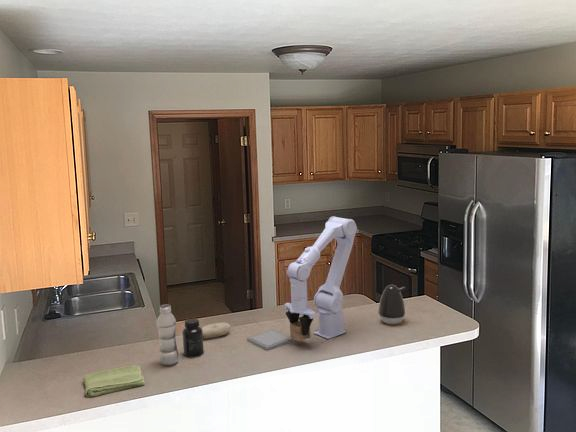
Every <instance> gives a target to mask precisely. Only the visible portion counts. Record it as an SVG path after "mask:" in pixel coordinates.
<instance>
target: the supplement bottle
mask: <svg viewBox="0 0 576 432" xmlns="http://www.w3.org/2000/svg"><path fill="white" fill-rule="evenodd" d="M182 344H183V345H182V346H183V347H182V348H183V355H184V356H185V357H187V358H197V357H200V356H202V355H203V354H204V351H205V350H204V338H203V332H202V327H201V326H200V320H199V319H198V318H189V319H186V320H184V328H183V330H182Z"/></svg>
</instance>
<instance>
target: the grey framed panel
mask: <svg viewBox="0 0 576 432" xmlns="http://www.w3.org/2000/svg"><path fill="white" fill-rule="evenodd" d="M246 341H247V342H249V343H251V344H253V345H255V346H256V347H259V348H261V349H263V350H265V351H271V350H273V349H276V348H278V347H281V346H284V345H286V344H289V343H292V342H294V339H293V338H291V336H288V335H286V334H284V333H281V332H279V331H277V330H274V329H270V330H267V331H264V332H261V333H258V334H255V335H253V336H250V337H247V338H246Z"/></svg>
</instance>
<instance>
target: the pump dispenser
mask: <svg viewBox="0 0 576 432" xmlns="http://www.w3.org/2000/svg"><path fill="white" fill-rule="evenodd" d="M404 290H406V286H401V287H398V286H397V285H395V284H389V285H387V286H385V288H384V290H383V292H382V294H381V296H380V300H379V306H378V315H379V318H380V319H381V321H382V322H383V323H385V324H387V325H398V324H400V323H401V322H402V321H403V320H404V317H405V315H406V307H405V306H406V305H405V301H404V298H403V295H402V293H401V292H402V291H404Z"/></svg>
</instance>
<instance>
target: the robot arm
mask: <svg viewBox="0 0 576 432" xmlns="http://www.w3.org/2000/svg"><path fill="white" fill-rule="evenodd" d="M357 230H358V226H357V224H356V222H355V220H354V219H352V218H343V217H338V216H334V215H333V216H330V217H329V219H328V220H327V221H326V222H325V225H324V229H323V231H322V232H321V234H320V235H319V237H318V238H317V239H316V240H315V242H314V244H313V245H312V246H307V247H306V248H304V251H303V252H302V253H301V255H300V256H299V257H298V258H296V260H295V261H294V262H291V263H290V264H289V265H288V267H287V270H286V275H287V277H288V278H289V283H290V299H291V300H290V301H291V302H286V303H284V310H288V311H286V312H285V315H286V317H287V319H288V321H289V325H290V324H292V323H294V322H297V321H300V322H301V326H302V334H303V335H304V336H305V335H308V333H309V329H310V330H311V325H312V323H313V321H314V319H315V318H316V317H317V316H316V312H315V311H314V310H312V309H311V308H309V306H308V282H307V281H308V280H307V279H309V277H310V275H311V271H312V268H313V267H314V266H315V264H316V263H317V262H318V261H319V259H320V258H321V252H322V251H323V250H324V249H325V248H326V247H327V245H329V244H330V242H331V241H332V240H333V239H334V240H336V243H337V246H336V248H335V252H334V255H333V258H332V262H331V265H330V267H329V272H328V275H327V277H326V281H325V283H324V284H322V285H320V286H319V287H318V290H317V292H316V293H315V294H314V296H313V305H314V306H315V307H316V310H317V311H318V330H316V331H314V332H313V334H315V335H317V336H319V337H322V338H324V339H327V340H329V339H332V338H335V337H338V336H340V335H342V334H346V332H347V331H346V330H345V314H344V312H343V310H342V307H343V298H344V293H343V292H342V290H341V289H340V287H341V283H342V282H343V281H342V280H343V278H344V276H345V275H344V274H345V270H346V267H347V265H348V261H349V258H350V255H351V253H352V249H353V245H354V240H355V237H356V234H357ZM300 315H302V316H300Z"/></svg>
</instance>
